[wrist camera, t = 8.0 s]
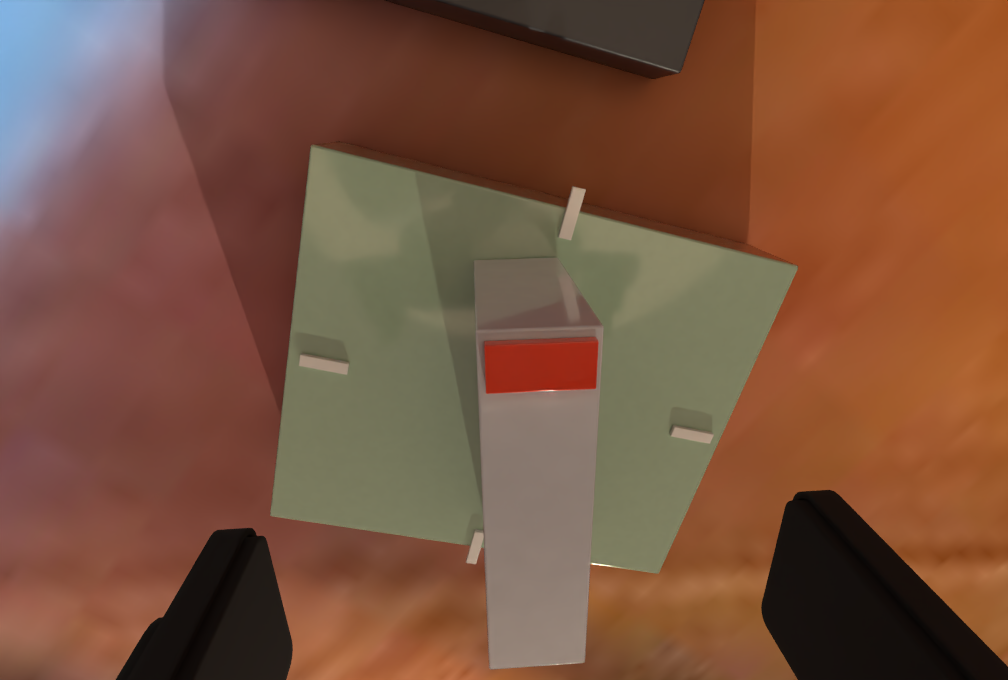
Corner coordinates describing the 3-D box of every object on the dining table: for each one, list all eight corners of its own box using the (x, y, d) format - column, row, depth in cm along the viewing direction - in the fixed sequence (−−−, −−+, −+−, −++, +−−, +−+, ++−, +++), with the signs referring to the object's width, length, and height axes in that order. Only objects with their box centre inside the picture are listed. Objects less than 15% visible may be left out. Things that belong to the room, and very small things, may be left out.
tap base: (757, 227, 18) (812, 247, 15) (630, 530, 23) (655, 589, 20) (339, 120, 16) (311, 119, 13) (294, 476, 21) (265, 534, 18)
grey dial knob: (553, 514, 18) (587, 673, 13) (483, 518, 18) (489, 680, 13) (558, 257, 15) (607, 330, 10) (473, 259, 15) (475, 335, 10)
